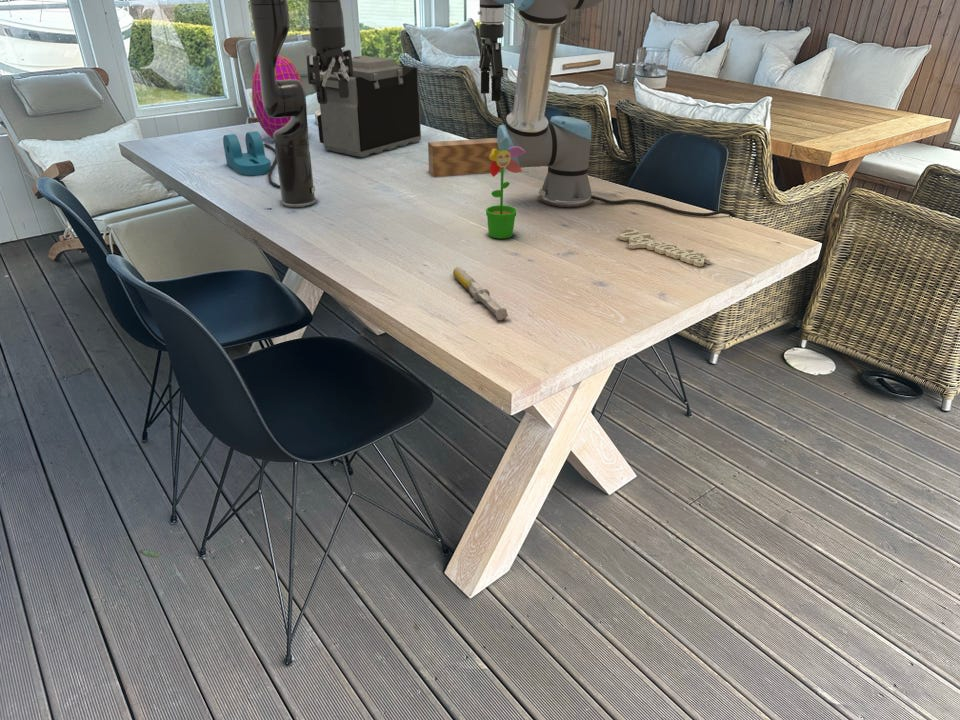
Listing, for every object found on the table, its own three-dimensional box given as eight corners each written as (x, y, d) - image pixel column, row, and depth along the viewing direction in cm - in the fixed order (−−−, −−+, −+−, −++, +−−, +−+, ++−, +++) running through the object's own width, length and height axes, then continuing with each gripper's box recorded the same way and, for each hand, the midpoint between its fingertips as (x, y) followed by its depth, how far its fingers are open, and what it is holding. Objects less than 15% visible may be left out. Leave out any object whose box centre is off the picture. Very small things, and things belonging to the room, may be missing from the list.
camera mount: (227, 164, 233) (221, 132, 227) (257, 160, 238) (252, 129, 233) (244, 176, 220) (239, 143, 215) (276, 172, 225) (271, 139, 220)
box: (495, 166, 235) (496, 137, 230) (501, 171, 230) (502, 142, 225) (428, 171, 228) (428, 142, 223) (433, 176, 223) (432, 146, 218)
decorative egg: (293, 132, 276) (283, 50, 261) (319, 140, 264) (310, 56, 249) (249, 139, 265) (236, 54, 250) (273, 148, 253) (261, 60, 238)
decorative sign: (605, 235, 174) (629, 227, 180) (604, 239, 175) (629, 230, 181) (694, 266, 158) (718, 256, 163) (693, 270, 158) (717, 260, 164)
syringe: (449, 274, 155) (449, 263, 153) (465, 272, 156) (464, 260, 154) (490, 323, 135) (491, 310, 133) (508, 319, 136) (508, 307, 134)
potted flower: (492, 242, 172) (494, 140, 160) (478, 232, 178) (479, 133, 166) (525, 236, 176) (529, 136, 163) (510, 227, 182) (513, 130, 169)
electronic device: (383, 133, 276) (378, 52, 261) (425, 141, 265) (422, 56, 250) (314, 150, 251) (304, 61, 235) (358, 160, 240) (350, 67, 224)
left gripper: (331, 21, 160) (338, 94, 168) (292, 25, 149) (301, 104, 157) (358, 22, 157) (364, 97, 165) (321, 27, 146) (328, 107, 154)
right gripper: (470, 20, 218) (469, 90, 229) (490, 27, 197) (488, 104, 208) (492, 19, 220) (491, 90, 231) (515, 26, 199) (512, 103, 210)
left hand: (333, 100), depth 161 cm, fingers open, 8 cm apart
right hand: (490, 97), depth 219 cm, fingers open, 13 cm apart
